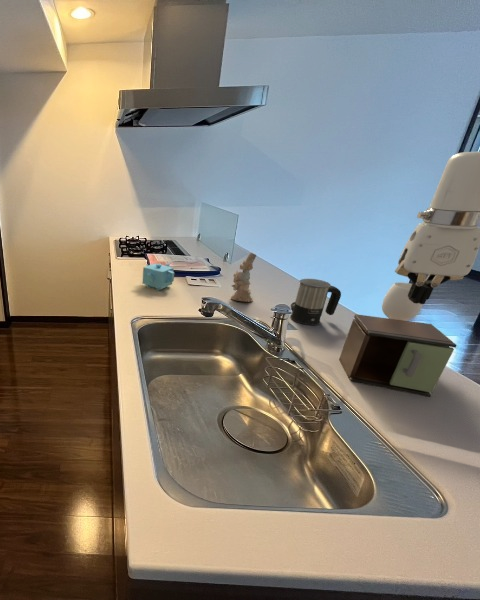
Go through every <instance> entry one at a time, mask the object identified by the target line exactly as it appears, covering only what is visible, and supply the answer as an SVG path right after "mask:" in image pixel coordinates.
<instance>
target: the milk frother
mask: <svg viewBox="0 0 480 600" xmlns="http://www.w3.org/2000/svg"><path fill="white" fill-rule="evenodd" d="M328 293H330V297H329V299H328V302H327V304H326V301H327V297H328ZM341 297H342V292H341V290H340V289H339V288H337V287H336V286H334V285H331V283H329V282H328V281H325V280H322V279H316V278H302V279H299V286H298V290H297V293H296V298H295V301H294V302H292V303H291V304H290V308H291V309H292V313H291V315H290V316H289V317H290V319H291V320H292V321H294V322H297V323H299V324H302V325H306V326H307V325H309V326H316V325H319V324H320V323H321V317H322V315H323V311H324V308H325V304H326V308H325V313H326V314H327V315H329V316H333V315H334V314H335V311H336V309H337V307H338V305H339V302H340V299H341Z"/></svg>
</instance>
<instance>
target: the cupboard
mask: <svg viewBox="0 0 480 600" xmlns="http://www.w3.org/2000/svg"><path fill="white" fill-rule="evenodd" d="M408 341H411V342H418V343H425V344H431V345H438V346H445V347H452V348H454V349H455V348H456V347H457V344H456V343H455V342H454V341H453V340H452V339H450V338H449V337H448V336H447V335H445V334H444V333H443V332H442V331H441V330H439V329H438V328H437V327H436V326H434V325H433V324H432V323H427V322H419V321H412V320H407V321H404V320H396V319H389V318H388V317H382V316H381V317H380V316H373V315H365V314H357V313H355V314H354V316H353V319H352V321H351V324H350V327H349V330H348V332H347V336H346V339H345V342H344V344H343V347H342V350H341V353H340V355H339V358H338V361H339V362H340V364H341V366H342V368H343V370H344V372H345V374H346V376H347V378H348V379H349V381H350V382H351V383H357V384H361V385H367V386H371V387H377V388H382V389H386V390H391V391H392V390H393V391H398V392H402V393H408V394H413V395H418V396H422V397H427V398H430V397H431V396H432V394H431V392H426V391H420V390H415V389H410V388H405V387H399V386H394V385H390V380H391V378H392V376H393V374H394V371H395V369H396V367H397V365H398V362H399V360H400V358H401V356H402V353H403V351H404V349H405V347H406V344H407V342H408Z"/></svg>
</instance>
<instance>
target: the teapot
mask: <svg viewBox="0 0 480 600" xmlns="http://www.w3.org/2000/svg"><path fill="white" fill-rule="evenodd" d="M170 264H171V262H167V263H166V264H165V265H164V264H162V263H152V264H148V265H145V266H143V268H142V281H141V282H142V284H143V285H146V288H155V290H156V291H162V290H163V289H164V288H168V287H169V286H172V285H173V282H174V280H175V274H176V273H175V272H174V269H175V268H174V267H171V266H170Z"/></svg>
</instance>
